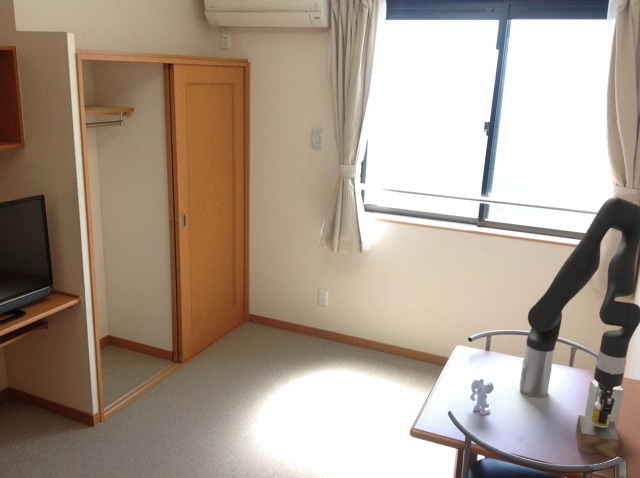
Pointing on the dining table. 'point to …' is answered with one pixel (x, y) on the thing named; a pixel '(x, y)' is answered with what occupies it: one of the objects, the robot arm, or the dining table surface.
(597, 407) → the supplement bottle
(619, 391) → the skincare box
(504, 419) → the dining table surface
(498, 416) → the dining table surface
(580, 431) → the walnut block
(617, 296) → the robot arm
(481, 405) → the toy figurine
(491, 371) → the dining table surface
